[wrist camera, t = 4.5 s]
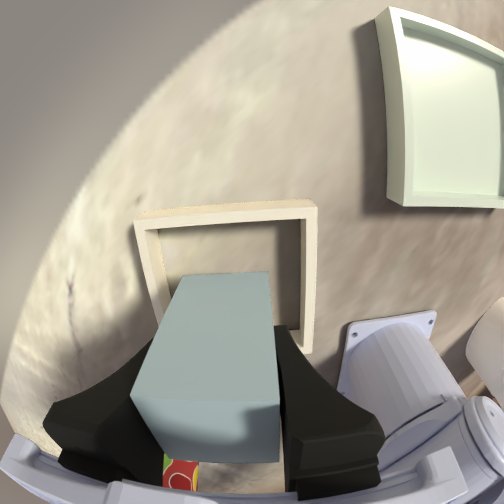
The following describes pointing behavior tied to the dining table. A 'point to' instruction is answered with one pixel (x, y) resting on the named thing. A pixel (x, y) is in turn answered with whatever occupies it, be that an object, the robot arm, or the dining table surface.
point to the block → (214, 372)
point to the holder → (232, 214)
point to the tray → (441, 113)
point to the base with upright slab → (489, 350)
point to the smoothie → (180, 474)
